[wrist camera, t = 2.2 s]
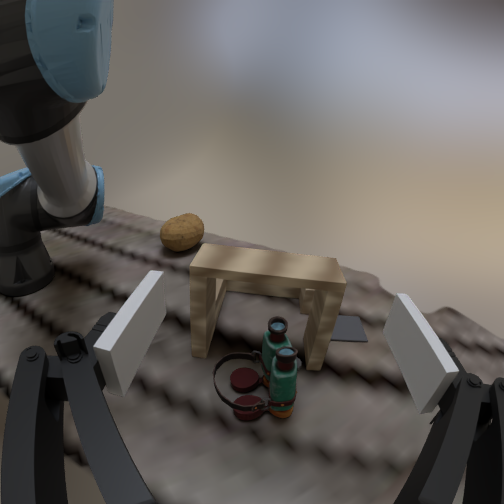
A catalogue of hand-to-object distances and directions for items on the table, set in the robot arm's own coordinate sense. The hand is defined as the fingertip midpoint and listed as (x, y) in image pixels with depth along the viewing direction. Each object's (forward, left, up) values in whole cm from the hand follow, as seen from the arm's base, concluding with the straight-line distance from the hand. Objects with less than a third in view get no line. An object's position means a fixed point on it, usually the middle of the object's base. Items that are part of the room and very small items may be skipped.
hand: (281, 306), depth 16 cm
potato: (-21, +52, -21) cm, 60 cm away
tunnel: (0, +26, -21) cm, 33 cm away
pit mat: (+14, +26, -21) cm, 36 cm away
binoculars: (0, +10, -21) cm, 23 cm away
